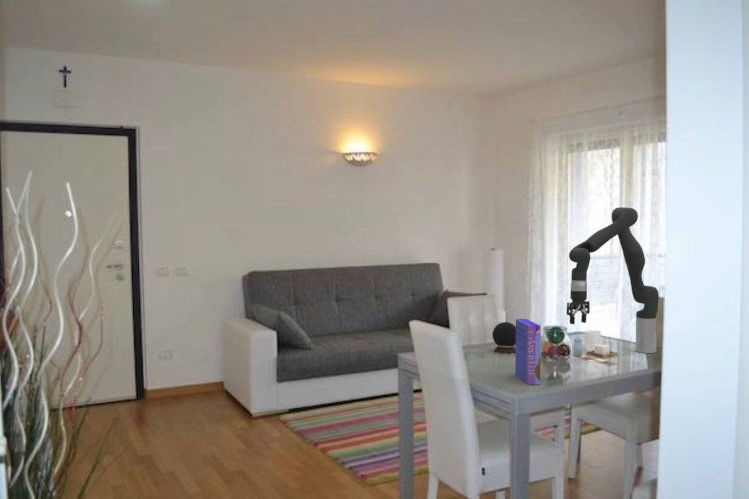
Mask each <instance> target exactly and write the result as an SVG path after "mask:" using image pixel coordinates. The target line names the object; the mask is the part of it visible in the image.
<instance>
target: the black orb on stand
mask: <svg viewBox="0 0 749 499" xmlns="http://www.w3.org/2000/svg"><path fill="white" fill-rule="evenodd" d="M492 340H493V342H494V343H495V345H496V347H495V348H494V349H493V350H494V351H496V352H499V353H498V354H500V353H508V354H507V355H512V354H511V353H514V354H516V347H515V346H516V325H515V324H514V323H511V322H509V321H504V322H499V323H498V324H497V325H495V327H494V328H493V330H492ZM494 351H493V352H494ZM496 352H495V353H496Z"/></svg>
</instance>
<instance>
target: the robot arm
mask: <svg viewBox="0 0 749 499" xmlns="http://www.w3.org/2000/svg"><path fill="white" fill-rule="evenodd" d="M638 219H639V213H638V212H637V210H636V209H635V208H632V207H619V206H618V207H615V208H614V209H613V210H612V212H611V221H612V223H611V224H609V225H607V226H605V227H603V228H601V229H599V230H598V231H596V232H594V233H593V234H592V235H590V236H589V237H588V238H587V239H586V240H585V241H582V242H581V243H579V244H578V245H576V246H574V247H572V249H571V250H570V251H569V253H568V257H569V260H570V261H571V262H573V263H576V265H575V267H574V268H572V269H571V279H570V280H571V282H570V297H569V298H570V300H571V302H569V301H568V302H567V303H566V315H567V316H569V324H571V325H575V324H576V321H575V320H576V318H575V317H576V314H577V313H578V312H580V313H581V320H580V322H581V323H583V324H586V323H587V315H588V314H590V311H591V310H590V308H591V306H590V301H589V300H587V299H588V282H587V280H588V279H587V278H588V269H589V266H590V262H591V254H592V253H595V252H598V250H599V249H601V247H603V246H604V245H605V244H606V243H608V242H609V241H610V240H612V239H613V238H614V237H616V236H617V237H618V241H619V243H620V247H621V250H622V254H623V258H624V262H625V265H626V269H627V273H628V277H629V280H630V288H631V289H630V290H631V294H632V297H633V299H634V301H635V302H636V303H638V304H643V308H642V309H640V310H637V311H636V313H635V351H636V352H637V353H641V354H654V353H656V352H657V314H658V310H659V290H658V289H657V287H655V286H651V285H645V284H644V281H643V276H642V275H643V270H644V267H645V264H646V258H645V257H646V256H645V253H644V249H643V247H642V246H641V244H640V242H639V241H638V240H637V238H636V237H635V236H634V235H633V233H632V230H631V227H632V226H634V225H635V224H636V223H637V221H638Z"/></svg>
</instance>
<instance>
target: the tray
mask: <svg viewBox="0 0 749 499" xmlns="http://www.w3.org/2000/svg"><path fill="white" fill-rule="evenodd" d="M586 356H588V357H593V358H598V359H603V360H606V359H609V358H615V357H618V352H615V351H610V350H609V354H604V355H603V354H598V353H594V350H593V351H587V350H586Z"/></svg>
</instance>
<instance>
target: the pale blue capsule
mask: <svg viewBox="0 0 749 499" xmlns="http://www.w3.org/2000/svg"><path fill="white" fill-rule="evenodd" d="M582 341H583V340H582V338H581V337H580V336H576V337H575V339H574V340H573V355H574V357H582V356H583V355H582V351H583V350H582V349H583V342H582Z"/></svg>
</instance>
